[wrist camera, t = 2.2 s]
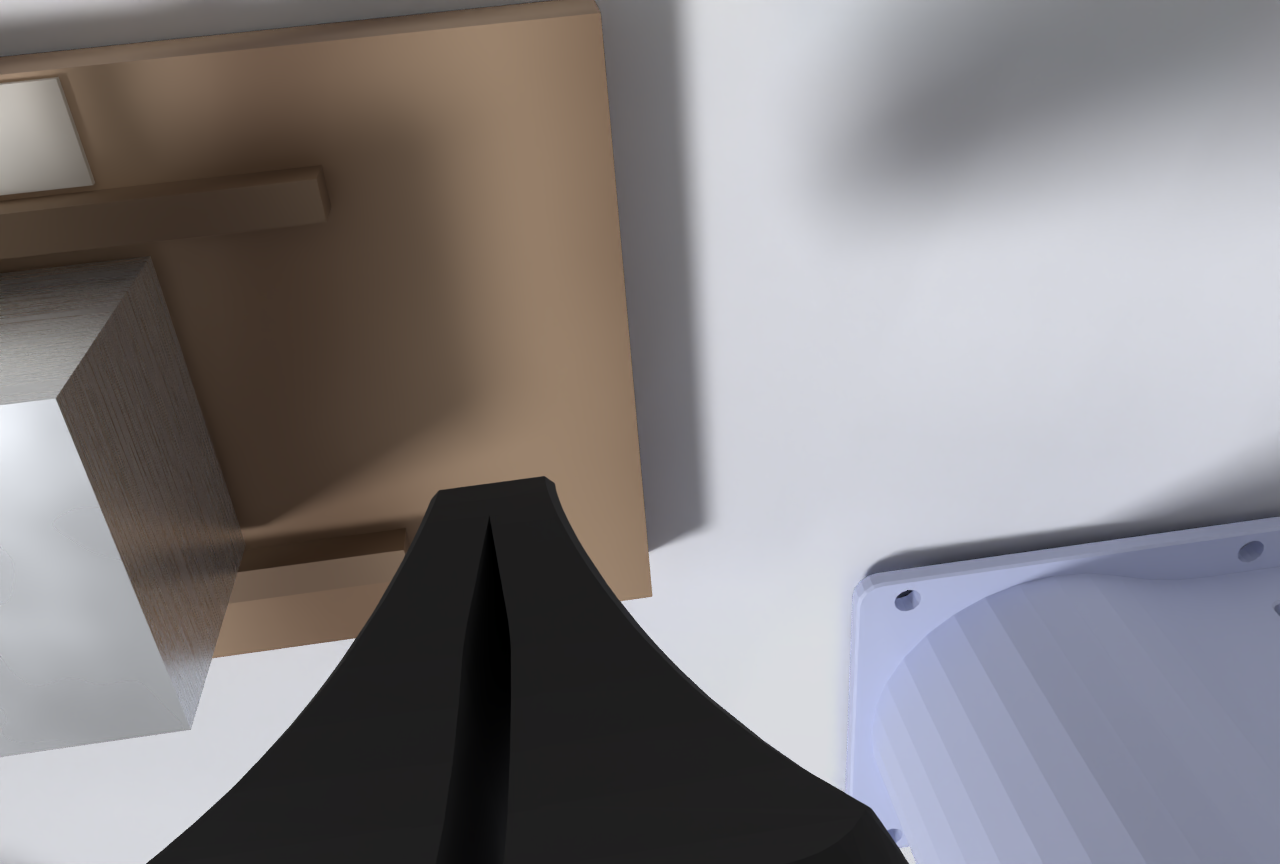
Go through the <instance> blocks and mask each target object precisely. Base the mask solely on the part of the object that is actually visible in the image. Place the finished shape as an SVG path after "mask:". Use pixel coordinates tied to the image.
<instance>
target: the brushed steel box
mask: <svg viewBox="0 0 1280 864" xmlns="http://www.w3.org/2000/svg"><path fill="white" fill-rule="evenodd" d="M244 549H245V542H244V539H243V536H242V532H241V529H240V526H239V523H238V520H237V517H236V514H235V511H234V508H233V505H232V502H231V499H230V496H229V493H228V490H227V487H226V484H225V481H224V478H223V475H222V472H221V469H220V466H219V463H218V460H217V457H216V454H215V451H214V448H213V445H212V442H211V439H210V436H209V432H208V429H207V426H206V423H205V420H204V417H203V414H202V411H201V408H200V405H199V402H198V399H197V396H196V393H195V390H194V387H193V384H192V381H191V378H190V375H189V372H188V369H187V366H186V363H185V360H184V357H183V354H182V351H181V348H180V345H179V342H178V339H177V336H176V332H175V329H174V326H173V323H172V320H171V317H170V314H169V311H168V308H167V305H166V302H165V299H164V296H163V293H162V290H161V287H160V284H159V281H158V278H157V275H156V272H155V269H154V266H153V263H152V260H151V257H150V256H147V257H138V258H130V259H121V260H112V261H104V262H95V263H86V264H77V265H69V266H60V267H51V268H43V269H34V270H25V271H17V272H8V273H0V757H4V756H11V755H18V754H25V753H32V752H39V751H46V750H53V749H59V748H66V747H73V746H80V745H87V744H94V743H101V742H108V741H115V740H122V739H129V738H136V737H143V736H150V735H157V734H164V733H171V732H178V731H184V730H191V727H192V724H193V720H194V717H195V714H196V710H197V707H198V704H199V700H200V697H201V694H202V690H203V687H204V683H205V680H206V677H207V673H208V670H209V667H210V663H211V660H212V656H213V653H214V650H215V646H216V643H217V640H218V636H219V633H220V630H221V626H222V623H223V619H224V616H225V613H226V609H227V606H228V603H229V599H230V596H231V593H232V589H233V586H234V582H235V579H236V576H237V572H238V569H239V566H240V562H241V559H242V556H243V552H244Z"/></svg>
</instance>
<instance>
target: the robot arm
mask: <svg viewBox="0 0 1280 864" xmlns="http://www.w3.org/2000/svg"><path fill="white" fill-rule="evenodd" d="M1247 543H1249V544H1247ZM1245 544H1247V545H1246V546H1245V547H1244V548H1242V547H1243V546H1244V545H1245ZM907 590H913V591H912V592H911V593H910V594H909V595H907V596H905V597H902V598H896V597H897V596H898V595H899V594H900V593H901V592H904V591H907ZM908 846H910V849H911V851H912V854H913V856H914V859H915V861H916V864H1280V516H1279V517H1272V518H1265V519H1258V520H1251V521H1244V522H1236V523H1229V524H1222V525H1215V526H1208V527H1201V528H1194V529H1187V530H1179V531H1172V532H1165V533H1158V534H1151V535H1144V536H1137V537H1130V538H1122V539H1115V540H1108V541H1101V542H1094V543H1087V544H1080V545H1073V546H1065V547H1058V548H1051V549H1044V550H1037V551H1030V552H1023V553H1016V554H1008V555H1001V556H994V557H987V558H980V559H973V560H966V561H959V562H951V563H944V564H937V565H930V566H923V567H916V568H909V569H902V570H894V571H887V572H880V573H876V574H872V575H869V576H867V577H866V578H864V579H863V580H861V581H860V582H859V583H858V585H857V586H856V587H855V589H854V592H853V596H852V622H851V650H850V678H849V706H848V734H847V762H846V790H845V793H844V792H843V791H841V790H839V789H837V788H836V787H834V786H832V785H830V784H829V783H827V782H825V781H823V780H822V779H820V778H818V777H817V776H815V775H813V774H811V773H810V772H808V771H807V770H805V769H803V768H802V767H800V766H799V765H798V764H796V763H795V762H793V761H792V760H790V759H789V758H788V757H786V756H785V755H783V754H782V753H780V752H779V751H777V750H776V749H775V748H773V747H772V746H770V745H769V744H767V743H766V742H764V741H763V740H762V739H761V738H759V737H758V736H757V735H756V734H755V733H753V732H752V731H751V730H750V729H748V728H747V727H746V726H745V725H743V724H742V723H741V722H740V721H738V720H737V719H736V718H735V717H733V716H732V715H731V714H730V713H728V712H727V711H726V710H725V709H723V708H722V707H721V706H720V705H718V704H717V703H716V702H715V701H714V700H712V699H711V698H710V697H709V696H708V695H707V694H706V693H704V692H703V691H702V690H701V689H700V688H699V687H698V686H697V685H696V684H695V683H694V682H693V681H692V680H691V679H690V678H689V677H687V676H686V675H685V674H684V673H683V672H682V671H681V670H680V669H679V668H678V667H677V666H676V665H675V664H674V663H673V662H672V661H671V660H670V659H669V658H668V657H667V655H666V654H665V653H664V652H663V651H662V650H661V649H660V648H659V647H658V646H657V645H656V644H655V643H654V642H653V640H652V639H651V638H650V637H649V636H648V635H647V634H646V632H645V631H644V630H643V629H642V628H641V627H640V626H639V624H638V623H637V622H636V621H635V619H634V618H633V617H632V616H631V614H630V613H629V612H628V611H627V609H626V608H625V607H624V606H623V604H622V603H621V602H620V601H619V599H618V598H617V597H616V595H615V594H614V592H613V591H612V590H611V588H610V587H609V586H608V584H607V583H606V581H605V580H604V578H603V577H602V575H601V574H600V572H599V571H598V569H597V568H596V566H595V565H594V563H593V562H592V560H591V559H590V557H589V556H588V554H587V553H586V551H585V550H584V548H583V546H582V545H581V543H580V541H579V539H578V538H577V536H576V534H575V532H574V530H573V528H572V526H571V525H570V523H569V521H568V519H567V517H566V515H565V512H564V510H563V508H562V505H561V503H560V500H559V497H558V494H557V491H556V486H555V483H554V482H552V481H551V480H550V479H548V478H547V477H545V476H541V477H533V478H526V479H518V480H511V481H503V482H496V483H488V484H481V485H473V486H466V487H458V488H451V489H443V490H439V491H438V492H437V493H436V494H435V495H434V497H433V498H432V499H431V501H430V503H429V506H428V508H427V511H426V513H425V515H424V517H423V520H422V522H421V524H420V526H419V528H418V531H417V533H416V535H415V537H414V539H413V541H412V543H411V545H410V547H409V549H408V551H407V553H406V555H405V557H404V559H403V561H402V562H401V564H400V566H399V568H398V570H397V571H396V573H395V575H394V577H393V579H392V580H391V582H390V584H389V586H388V587H387V589H386V591H385V593H384V594H383V596H382V598H381V600H380V601H379V603H378V605H377V606H376V608H375V610H374V611H373V613H372V615H371V616H370V618H369V619H368V621H367V622H366V624H365V625H364V627H363V628H362V630H361V631H360V633H359V634H358V636H357V637H356V639H355V640H354V642H353V643H352V645H351V646H350V648H349V649H348V651H347V652H346V654H345V655H344V657H343V659H342V660H341V661H340V663H339V664H338V666H337V667H336V668H335V670H334V671H333V672H332V674H331V675H330V676H329V678H328V679H327V681H326V682H325V683H324V685H323V686H322V687H321V688H320V690H319V691H318V692H317V694H316V695H315V696H314V698H313V699H312V700H311V701H310V702H309V704H308V705H307V706H306V707H305V709H304V710H303V711H302V712H301V713H300V715H299V716H298V717H297V718H296V720H295V721H294V722H293V723H292V724H291V726H290V727H289V728H288V729H287V730H286V731H285V732H284V733H283V735H282V736H281V737H280V738H279V739H278V740H277V741H276V742H275V743H274V744H273V746H272V747H271V748H270V749H269V750H268V751H267V752H266V753H265V754H264V755H263V757H262V758H261V759H260V760H259V761H258V762H257V763H256V764H255V765H254V766H253V767H252V768H251V769H250V770H249V771H248V772H247V773H246V774H245V775H244V776H243V778H242V779H241V780H240V781H239V782H238V783H237V784H236V785H235V786H234V787H233V788H232V789H231V790H230V791H229V792H228V793H226V794H225V795H224V796H223V797H222V798H221V799H220V800H219V801H218V802H217V803H216V804H215V805H213V806H212V807H211V808H210V809H209V810H208V811H207V812H206V813H205V814H204V815H203V816H202V817H200V818H199V819H198V820H197V821H196V822H195V823H194V824H193V825H191V826H190V827H189V828H188V829H187V830H186V831H184V832H183V833H182V834H181V835H180V836H179V837H177V838H176V839H175V840H174V841H173V842H172V843H170V844H169V845H168V846H167V847H166V848H165V849H164V850H162V851H161V852H160V853H159V854H157V855H156V856H155V857H154V858H153V859H151V860H150V861H149V862H148V863H146V864H909V863H908V862H907V860H906V859H905V857H904V855H903V854H902V852H901V850H900V849H899V848H902V847H908Z"/></svg>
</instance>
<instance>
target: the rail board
mask: <svg viewBox="0 0 1280 864" xmlns="http://www.w3.org/2000/svg"><path fill="white" fill-rule="evenodd" d="M147 256H150V257H151V260H152V263H153V266H154V269H155V272H156V275H157V278H158V281H159V284H160V287H161V290H162V293H163V296H164V299H165V302H166V305H167V308H168V311H169V314H170V317H171V320H172V323H173V326H174V329H175V332H176V336H177V339H178V342H179V345H180V348H181V351H182V354H183V357H184V360H185V363H186V366H187V369H188V372H189V375H190V378H191V381H192V384H193V387H194V390H195V393H196V396H197V399H198V402H199V405H200V408H201V411H202V414H203V417H204V420H205V423H206V426H207V429H208V432H209V436H210V439H211V442H212V445H213V448H214V451H215V454H216V457H217V460H218V463H219V466H220V469H221V472H222V475H223V478H224V481H225V484H226V487H227V490H228V493H229V496H230V499H231V502H232V505H233V508H234V511H235V514H236V517H237V520H238V523H239V526H240V529H241V532H242V536H243V539H244V542H245V549H244V552H243V556H242V559H241V562H240V566H239V569H238V572H237V576H236V579H235V582H234V586H233V589H232V593H231V596H230V599H229V603H228V606H227V609H226V613H225V616H224V619H223V623H222V626H221V630H220V633H219V636H218V640H217V643H216V646H215V650H214V653H213V656H212V658H217V657H224V656H231V655H238V654H245V653H253V652H260V651H267V650H274V649H281V648H288V647H296V646H303V645H310V644H317V643H324V642H331V641H338V640H346V639H353V638H356V637H357V636H358V634H359V633H360V631H361V630H362V628H363V627H364V625H365V624H366V622H367V621H368V619H369V618H370V616H371V615H372V613H373V611H374V610H375V608H376V606H377V605H378V603H379V601H380V600H381V598H382V596H383V594H384V593H385V591H386V589H387V587H388V586H389V584H390V582H391V580H392V579H393V577H394V575H395V573H396V571H397V570H398V568H399V566H400V564H401V562H402V561H403V559H404V557H405V555H406V553H407V551H408V549H409V547H410V545H411V543H412V541H413V539H414V537H415V535H416V533H417V531H418V528H419V526H420V524H421V522H422V520H423V517H424V515H425V513H426V511H427V508H428V506H429V503H430V501H431V499H432V498H433V497H434V495H435V494H436V493H437V492H438V491H439V490H443V489H451V488H458V487H466V486H473V485H481V484H488V483H496V482H503V481H511V480H518V479H526V478H533V477H541V476H545V477H547V478H548V479H550V480H551V481H552V482H554V483H555V486H556V491H557V494H558V497H559V500H560V503H561V505H562V508H563V510H564V512H565V515H566V517H567V519H568V521H569V523H570V525H571V526H572V528H573V530H574V532H575V534H576V536H577V538H578V539H579V541H580V543H581V545H582V546H583V548H584V550H585V551H586V553H587V554H588V556H589V557H590V559H591V560H592V562H593V563H594V565H595V566H596V568H597V569H598V571H599V572H600V574H601V575H602V577H603V578H604V580H605V581H606V583H607V584H608V586H609V587H610V588H611V590H612V591H613V592H614V594H615V595H616V597H617V598H618V599H619V601H624V600H632V599H639V598H646V597H652V587H651V576H650V565H649V554H648V542H647V531H646V520H645V508H644V497H643V486H642V474H641V463H640V452H639V440H638V429H637V418H636V407H635V395H634V384H633V373H632V361H631V350H630V339H629V327H628V316H627V305H626V293H625V282H624V271H623V260H622V248H621V237H620V226H619V214H618V203H617V192H616V180H615V169H614V158H613V146H612V135H611V124H610V113H609V101H608V90H607V79H606V67H605V56H604V45H603V33H602V22H601V12H600V10H599V8H598V6H597V4H596V2H595V0H553V1H543V2H533V3H524V4H514V5H504V6H494V7H485V8H475V9H465V10H455V11H445V12H436V13H426V14H416V15H406V16H397V17H387V18H377V19H367V20H357V21H348V22H338V23H328V24H318V25H308V26H299V27H289V28H279V29H269V30H260V31H250V32H240V33H230V34H220V35H211V36H201V37H191V38H181V39H172V40H162V41H152V42H142V43H132V44H123V45H113V46H103V47H93V48H83V49H74V50H64V51H54V52H44V53H35V54H25V55H15V56H5V57H0V273H8V272H17V271H25V270H34V269H43V268H51V267H60V266H69V265H77V264H86V263H95V262H104V261H112V260H121V259H130V258H138V257H147Z"/></svg>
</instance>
